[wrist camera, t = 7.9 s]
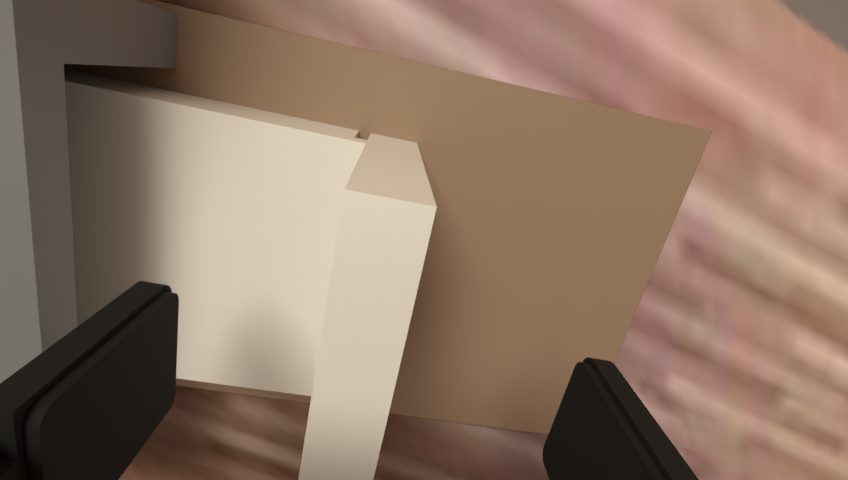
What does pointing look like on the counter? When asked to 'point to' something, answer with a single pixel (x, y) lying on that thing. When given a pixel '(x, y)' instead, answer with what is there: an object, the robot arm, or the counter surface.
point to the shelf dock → (369, 113)
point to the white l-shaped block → (256, 248)
